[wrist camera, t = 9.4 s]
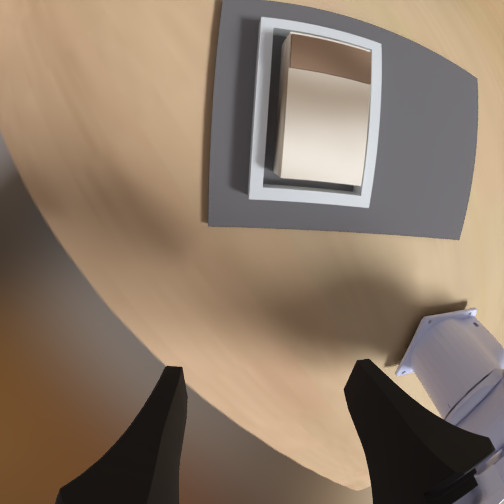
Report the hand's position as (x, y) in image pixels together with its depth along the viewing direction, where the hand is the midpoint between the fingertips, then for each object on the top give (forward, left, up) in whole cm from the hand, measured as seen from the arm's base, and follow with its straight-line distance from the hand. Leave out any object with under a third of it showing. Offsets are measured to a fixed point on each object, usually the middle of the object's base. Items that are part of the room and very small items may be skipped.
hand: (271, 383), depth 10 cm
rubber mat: (-8, -11, -9) cm, 16 cm away
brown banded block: (-3, -11, -9) cm, 14 cm away
